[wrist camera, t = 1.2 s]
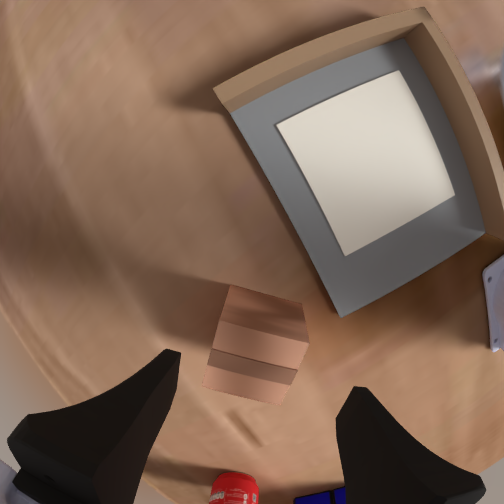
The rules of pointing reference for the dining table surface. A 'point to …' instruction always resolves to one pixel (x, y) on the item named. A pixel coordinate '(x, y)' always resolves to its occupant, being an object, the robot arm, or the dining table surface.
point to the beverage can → (234, 489)
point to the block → (256, 346)
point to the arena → (373, 152)
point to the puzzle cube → (324, 497)
